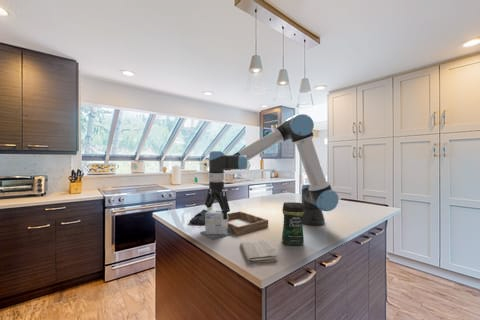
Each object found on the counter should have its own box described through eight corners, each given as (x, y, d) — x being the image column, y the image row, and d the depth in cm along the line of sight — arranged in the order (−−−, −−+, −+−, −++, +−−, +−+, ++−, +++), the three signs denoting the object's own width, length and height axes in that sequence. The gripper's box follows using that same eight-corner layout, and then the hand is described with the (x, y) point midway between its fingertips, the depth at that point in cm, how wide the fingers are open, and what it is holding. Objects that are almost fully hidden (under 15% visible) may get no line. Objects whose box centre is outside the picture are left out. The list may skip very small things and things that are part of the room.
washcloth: (248, 266, 79) (248, 257, 79) (239, 246, 96) (239, 239, 96) (279, 263, 81) (279, 255, 81) (265, 244, 99) (265, 238, 99)
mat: (232, 234, 111) (232, 233, 111) (212, 239, 103) (212, 238, 103) (219, 228, 120) (219, 227, 120) (200, 233, 113) (200, 231, 113)
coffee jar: (283, 246, 96) (283, 204, 96) (280, 239, 104) (280, 200, 104) (305, 246, 96) (305, 204, 96) (301, 239, 104) (301, 200, 103)
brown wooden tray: (268, 227, 123) (268, 219, 123) (238, 235, 109) (238, 227, 109) (240, 217, 143) (240, 211, 143) (211, 223, 129) (211, 216, 129)
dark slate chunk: (184, 225, 127) (184, 217, 127) (197, 215, 149) (197, 208, 149) (210, 226, 125) (210, 218, 125) (219, 216, 147) (219, 209, 147)
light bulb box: (227, 230, 115) (227, 210, 115) (226, 235, 108) (226, 213, 108) (208, 230, 116) (208, 209, 116) (204, 234, 109) (204, 212, 109)
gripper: (198, 179, 119) (198, 218, 119) (224, 184, 100) (224, 230, 100) (210, 179, 124) (210, 216, 124) (237, 182, 104) (237, 227, 104)
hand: (216, 222), depth 112 cm, fingers open, 13 cm apart
